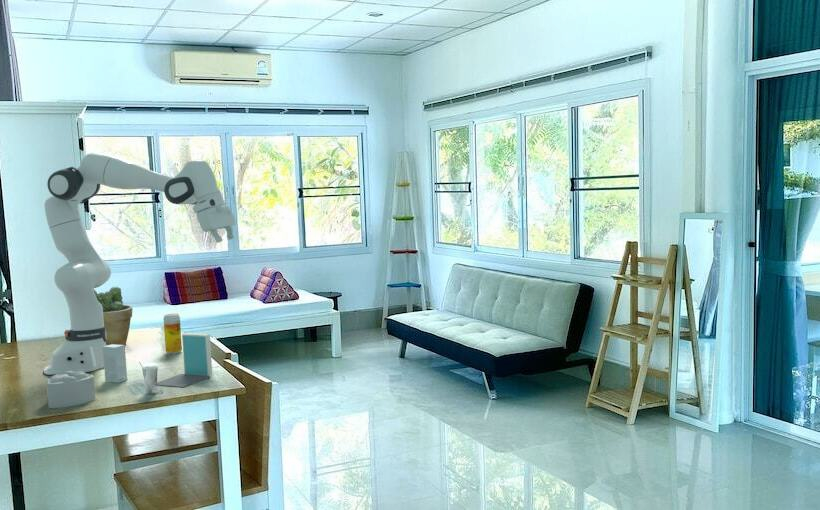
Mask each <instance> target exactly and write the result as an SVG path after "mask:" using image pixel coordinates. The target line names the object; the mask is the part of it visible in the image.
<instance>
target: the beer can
mask: <svg viewBox="0 0 820 510" xmlns="http://www.w3.org/2000/svg"><path fill="white" fill-rule="evenodd" d="M163 329H164V330H163V331H164V332H163V333H164V345H165V352H166V354H169V355H175V354H180V353H181V352H182V351H183V342H182V329H181V317H180V315H179V313H167V314H166V313H165V314H164V316H163Z"/></svg>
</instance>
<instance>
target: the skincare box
mask: <svg viewBox="0 0 820 510" xmlns="http://www.w3.org/2000/svg"><path fill="white" fill-rule="evenodd" d="M103 358H104V367H103V368H104V381H105V382H107V383H116V384H117V383H121V382H124V381H127V380H128V372H127V358H126V345H115V344H111V345H107V346H103Z"/></svg>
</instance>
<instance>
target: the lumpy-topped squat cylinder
mask: <svg viewBox="0 0 820 510" xmlns="http://www.w3.org/2000/svg"><path fill="white" fill-rule="evenodd" d="M46 392H47V393H46V394H47V403H48V405H47V407H48V408H50V409H51V408H52V409H57V408H58V409H59V408H66V407H72V406H73V407H74V406H80V405H83V404H87V403H90V402H92V401H95V400H96V388H95V376H94V375H93V374H90V373H87V372H81V371H79V372H72V371H67V372H65V373H64V374H53V375H52V376H51V377H50V378H49V377H48V378H47V379H46Z"/></svg>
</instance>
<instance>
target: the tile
mask: <svg viewBox="0 0 820 510" xmlns="http://www.w3.org/2000/svg"><path fill="white" fill-rule="evenodd" d="M181 342H182V353H183V354H182V356H183V357H182V358H183V368H184V369H183V371H184V372H183V374H192V375H205V376H210V377H211V376H213V363H212V362H213V361H212V349H211V347H212V346H211V334H210V333H209V334H207V333H188V332H185V333H181Z"/></svg>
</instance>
